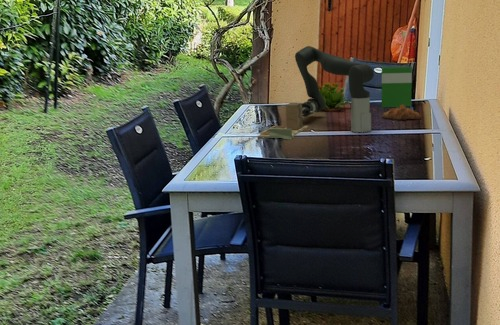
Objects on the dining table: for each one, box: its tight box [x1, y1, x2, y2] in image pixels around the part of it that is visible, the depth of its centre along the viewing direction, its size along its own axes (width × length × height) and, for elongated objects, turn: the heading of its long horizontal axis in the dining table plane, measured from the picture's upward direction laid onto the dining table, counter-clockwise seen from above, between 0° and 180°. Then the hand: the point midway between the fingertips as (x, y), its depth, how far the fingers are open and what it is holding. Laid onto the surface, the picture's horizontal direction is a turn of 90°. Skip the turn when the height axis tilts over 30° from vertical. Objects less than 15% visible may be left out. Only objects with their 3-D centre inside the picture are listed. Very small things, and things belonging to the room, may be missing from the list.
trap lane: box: [256, 125, 309, 140], centre depth 310 cm, size 27×18×5 cm, turn 157°
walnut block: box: [285, 102, 304, 130], centre depth 315 cm, size 8×6×13 cm
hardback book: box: [381, 66, 413, 108], centre depth 373 cm, size 18×7×24 cm, turn 76°
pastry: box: [381, 105, 422, 121], centre depth 334 cm, size 17×15×8 cm
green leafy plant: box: [318, 81, 351, 112], centre depth 373 cm, size 25×24×18 cm
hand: (296, 113), depth 320 cm, fingers closed
